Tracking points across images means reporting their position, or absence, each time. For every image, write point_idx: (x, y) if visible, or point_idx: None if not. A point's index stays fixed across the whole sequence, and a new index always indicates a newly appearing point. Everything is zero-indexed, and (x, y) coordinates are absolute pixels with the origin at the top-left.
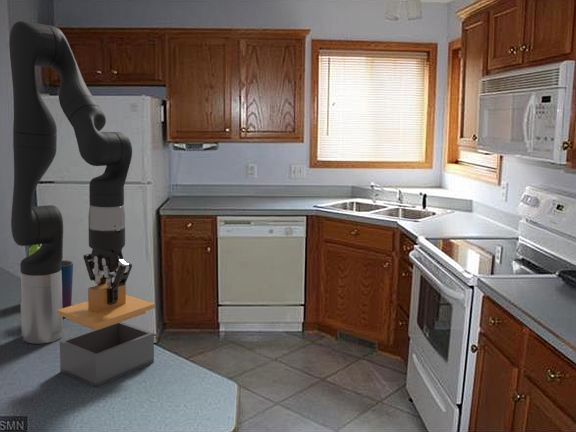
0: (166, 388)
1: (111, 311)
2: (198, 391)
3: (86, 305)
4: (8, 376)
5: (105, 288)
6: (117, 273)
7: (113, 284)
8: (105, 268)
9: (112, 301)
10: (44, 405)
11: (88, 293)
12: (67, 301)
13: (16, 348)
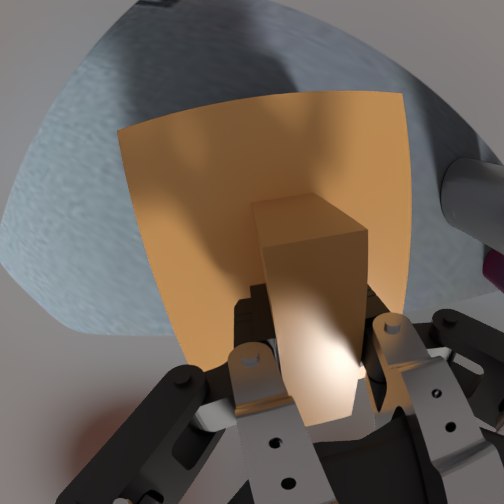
0: (99, 250)
1: (223, 269)
2: (70, 283)
3: (373, 219)
4: (358, 44)
5: (276, 329)
6: (125, 469)
7: (186, 381)
8: (295, 487)
9: (236, 305)
10: (183, 35)
11: (344, 216)
12: (500, 280)
13: (454, 130)
